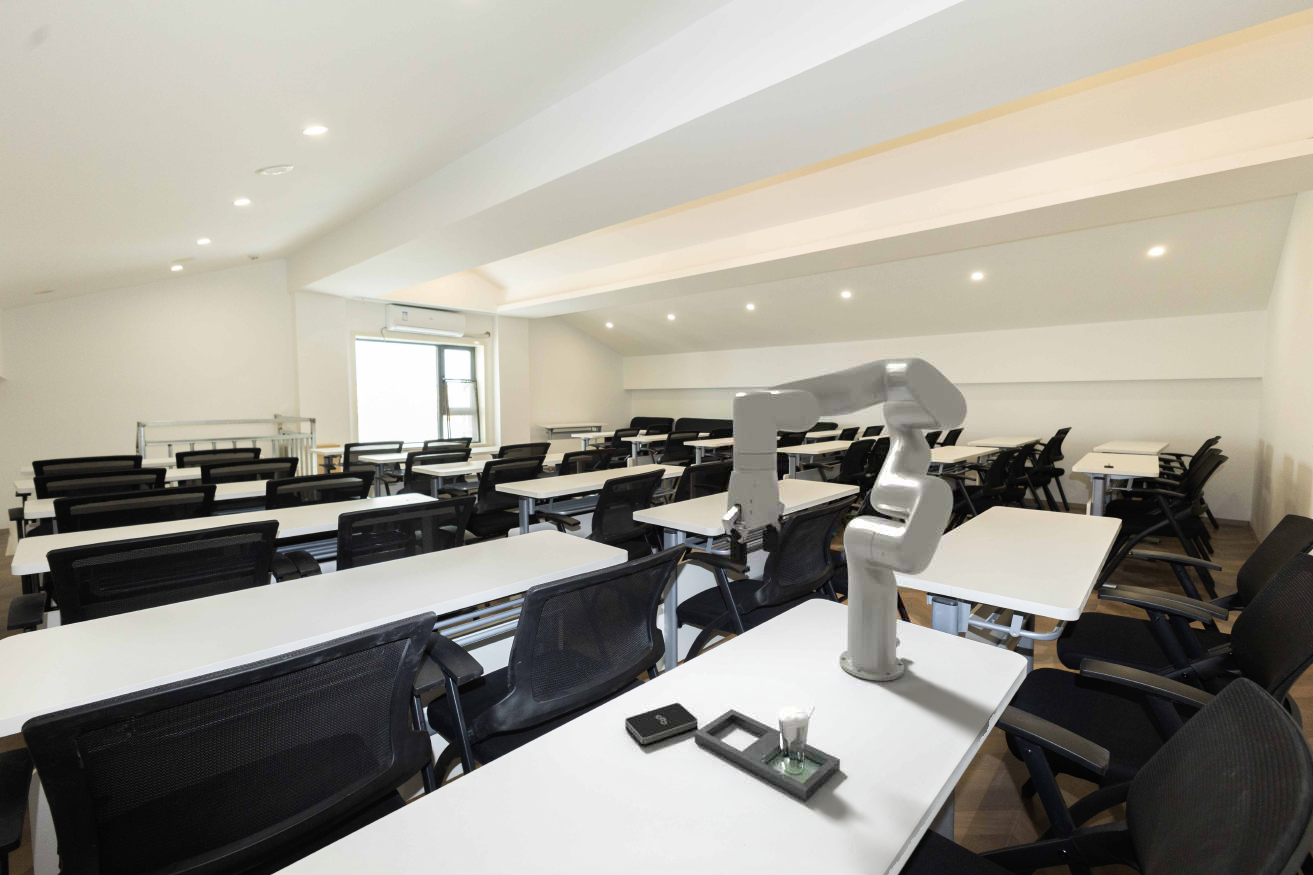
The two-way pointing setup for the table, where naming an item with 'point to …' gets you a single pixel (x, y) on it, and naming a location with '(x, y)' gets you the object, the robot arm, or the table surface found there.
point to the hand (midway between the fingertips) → (755, 557)
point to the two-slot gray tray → (769, 756)
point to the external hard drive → (661, 724)
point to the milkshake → (793, 738)
